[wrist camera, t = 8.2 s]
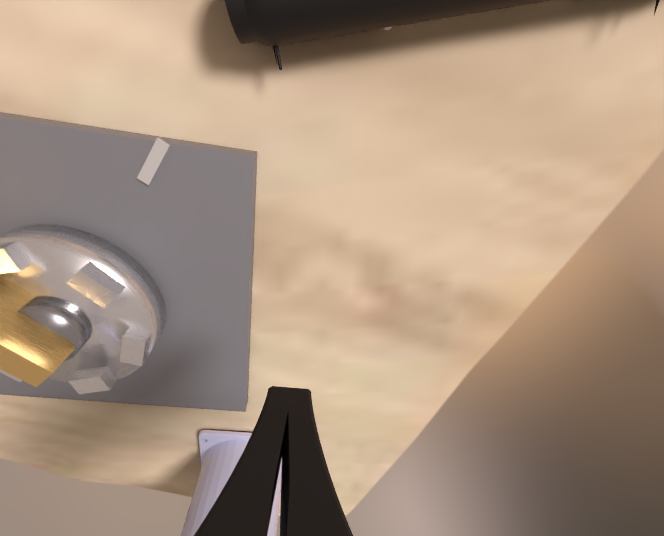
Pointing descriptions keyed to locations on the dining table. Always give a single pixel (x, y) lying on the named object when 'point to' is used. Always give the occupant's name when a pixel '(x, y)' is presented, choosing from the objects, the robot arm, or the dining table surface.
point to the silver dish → (74, 308)
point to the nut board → (149, 245)
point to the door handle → (341, 16)
